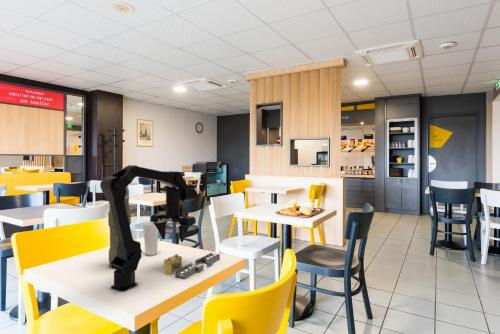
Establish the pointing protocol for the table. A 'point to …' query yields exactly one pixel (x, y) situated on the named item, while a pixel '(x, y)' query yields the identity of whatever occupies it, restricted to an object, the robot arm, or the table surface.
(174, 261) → the link
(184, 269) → the chain end
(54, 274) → the table surface
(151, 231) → the drinking glass
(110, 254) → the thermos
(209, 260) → the chain end
